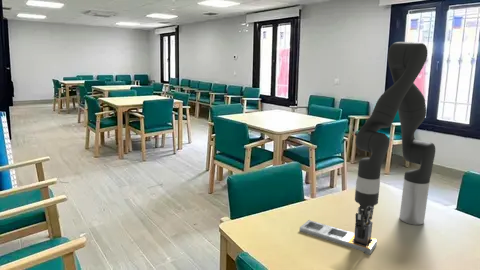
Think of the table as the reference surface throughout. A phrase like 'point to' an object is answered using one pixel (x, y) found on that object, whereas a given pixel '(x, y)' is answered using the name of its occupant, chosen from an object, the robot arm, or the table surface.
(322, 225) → the white slotted tray
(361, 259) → the table surface
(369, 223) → the dark gray block
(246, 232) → the table surface
